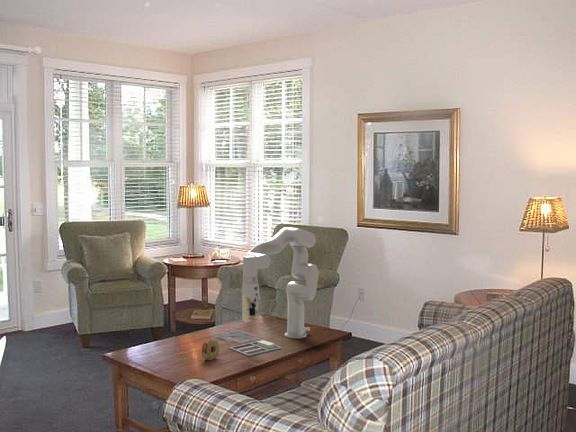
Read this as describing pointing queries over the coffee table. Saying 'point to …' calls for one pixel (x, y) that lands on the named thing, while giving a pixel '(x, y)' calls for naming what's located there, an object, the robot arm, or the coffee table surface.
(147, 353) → the coffee table surface
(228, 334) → the picture frame
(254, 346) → the rack
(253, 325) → the coffee table surface
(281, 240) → the robot arm
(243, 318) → the birch board
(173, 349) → the coffee table surface
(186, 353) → the coffee table surface
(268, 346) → the upper offcut
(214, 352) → the tan rounded piece
